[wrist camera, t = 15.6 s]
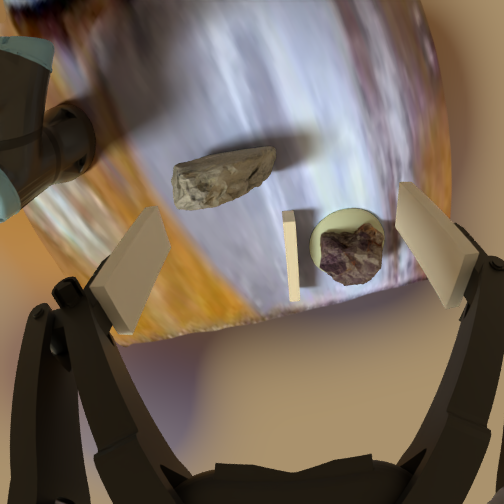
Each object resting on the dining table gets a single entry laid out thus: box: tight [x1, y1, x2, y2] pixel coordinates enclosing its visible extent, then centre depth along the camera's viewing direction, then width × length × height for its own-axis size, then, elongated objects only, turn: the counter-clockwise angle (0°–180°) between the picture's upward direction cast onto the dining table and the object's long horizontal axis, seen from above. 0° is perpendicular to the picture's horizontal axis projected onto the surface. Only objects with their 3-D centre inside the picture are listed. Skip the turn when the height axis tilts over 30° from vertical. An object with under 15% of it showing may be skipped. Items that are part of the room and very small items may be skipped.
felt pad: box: [309, 208, 384, 273], centre depth 52 cm, size 15×15×1 cm
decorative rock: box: [171, 146, 276, 210], centre depth 39 cm, size 16×7×15 cm, turn 99°
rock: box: [319, 223, 384, 286], centre depth 49 cm, size 12×9×10 cm
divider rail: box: [282, 210, 300, 302], centre depth 53 cm, size 2×18×4 cm, turn 8°
